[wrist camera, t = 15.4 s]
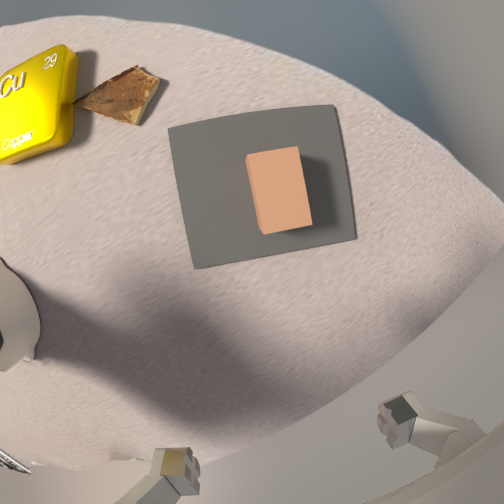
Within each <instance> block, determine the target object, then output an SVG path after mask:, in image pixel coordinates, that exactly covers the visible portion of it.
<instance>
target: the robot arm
mask: <svg viewBox="0 0 504 504" xmlns="http://www.w3.org/2000/svg"><path fill="white" fill-rule="evenodd" d="M39 336H40V319H39V315H38V311H37V308H36V305H35V302H34V300H33V298H32V296H31V294H30V292H29V290H28V289H27V287H26V286H25V284H24V283H23V282H22V280H21V279H20V278H19V277H18V276H17V275H16V274H14V273H13V272H12V271H10V270H9V269H8V268H6V267H5V265H4V264H3V262H2V261H1V259H0V371H2V372H6V371H8V370H9V369H10V368H12V367H13V366H14V365H15V364H17V363H18V362H19V361H20V360H22V359H23V360H26V361H31V360H33V359H34V355H35V350H34V348H35V345H36V343H37V342H38V340H39ZM379 411H380V413H379V415H378V417H377V422H378V427H379V429H380V431H381V433H382V434H385V435H387V439H386V440H387V442H388V444H389V445H390V447H391V448H392V450H393V449H395V448H397V447H400V446H402V445H404V444H406V443H408V442H409V443H410V444H412V445H414V446H416V447H418V448H421V449H423V450H425V451H427V452H430V453H432V454H434V455H436V456H439V458H438V460H437V462H436V464H435V466H434V468H435V470H434V471H432V472H430V473H428V474H427V475H425V476H423V477H421V478H419V479H417V480H416V481H414V482H411V483H410V484H408V485H406V486H403V487H401V488H399V489H398V490H395V491H393V492H391V493H388V494H386V495H384V496H381V497H379V498H376V499H374V500H372V501H369V502H367V503H364V504H504V421H503V422H502V423H501V424H499V425H498V426H497V427H496V428H494V429H493V430H492V431H491V432H489V433H488V434H486V433H485V432H484V431H483V430H482V429H481V428H480V427H479V426H478V425H477V424H476V423H475V422H474V420H472V419H468V418H464V417H460V416H455V415H451V414H447V413H443V412H440V411H436V410H432V409H431V410H428V409H427V408H426V407H425V406H424V405H423V404H422V402H421V401H420V400H419V399H418V398H417V397H416V396H415V395H414V393H412V391H407V392H405V393H403V394H401V395H398V396H396V397H393V398H391V399H389V400H386V401H384V402H382V403H380V404H379ZM192 454H193V452H192V450H191V448H190V447H185V448H156V449H155V450H154V453H153V458H152V462H151V468H150V472H149V476H145V477H144V478H143V479H141V480H140V481H139V482H138V483H137V484H136V485H135V486H134V487H133V488H132V489H130V490H129V491H128V492H127V493H126V494H125V495H124V496H123V497H121V498H120V499H119V500H118V501H117V502H115V503H114V504H176V502H177V501H178V500H179V498H180V496H191V495H199V489H200V483H199V482H198V480H197V479H198V477H199V476H200V466H199V463H198V460H197V458H196V457H194V456H192Z"/></svg>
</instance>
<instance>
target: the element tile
mask: <svg viewBox="0 0 504 504" xmlns="http://www.w3.org/2000/svg"><path fill="white" fill-rule="evenodd" d="M78 64H79V58H78V55H77V54H76V53H74V52H73V51H72V50H71V49H69V48H68V47H67V46H65V45H64V44H63V45H57V46H55V47H52V48H50V49H48V50H46V51H44V52H42V53H40V54H38V55H36V56H34V57H32V58H30V59H28V60H26V61H24V62H23V63H21V64H19V65H17V66H15V67H14V68H12V69H10V70H9V71H7V72H5V73H4V74H3V75H2V76H1V77H0V165H11V164H14V163H16V162H19V161H22V160H24V159H27V158H30V157H33V156H36V155H39V154H41V153H44V152H48V151H51V150H54V149H57V148H60V147H62V146H64V145H66V144H67V143H68V142H69V140H70V139H71V137H72V134H73V128H74V105H73V104H72V103H73V102H75V91H76V81H77V72H78Z"/></svg>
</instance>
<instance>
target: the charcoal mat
mask: <svg viewBox="0 0 504 504" xmlns="http://www.w3.org/2000/svg"><path fill="white" fill-rule="evenodd" d="M168 134H169V140H170V146H171V153H172V159H173V165H174V171H175V176H176V182H177V187H178V193H179V198H180V203H181V209H182V214H183V219H184V224H185V228H186V233H187V238H188V243H189V247H190V252H191V256H192V261H193V265H194V269H199V268H204V267H210V266H215V265H220V264H226V263H231V262H237V261H242V260H247V259H253V258H258V257H263V256H269V255H274V254H279V253H285V252H290V251H295V250H301V249H306V248H311V247H316V246H322V245H327V244H332V243H337V242H343V241H348V240H353V239H355V231H354V222H353V214H352V206H351V198H350V191H349V184H348V178H347V171H346V165H345V159H344V154H343V148H342V143H341V138H340V133H339V128H338V123H337V119H336V114H335V110H334V105H315V106H301V107H290V108H280V109H271V110H263V111H255V112H248V113H242V114H236V115H230V116H224V117H218V118H213V119H208V120H203V121H198V122H193V123H189V124H184V125H180V126H176V127H172V128H168ZM295 146H298V151H299V156H300V160H301V165H302V170H303V175H304V181H305V186H306V191H307V196H308V202H309V208H310V213H311V219H312V225H308V226H304V227H299V228H294V229H289V230H284V231H279V232H274V233H270V234H265V235H264V234H263V233H262V231H261V230H260V229H259V225H258V220H257V215H256V210H255V205H254V200H253V195H252V190H251V185H250V180H249V176H248V171H247V166H246V161H245V160H246V157H247V155H248V154H253V153H258V152H264V151H270V150H276V149H282V148H288V147H295Z"/></svg>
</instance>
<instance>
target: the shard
mask: <svg viewBox="0 0 504 504" xmlns="http://www.w3.org/2000/svg"><path fill="white" fill-rule="evenodd" d="M159 83H160V79H159V78H158V77H155V76H152V75H149V74H147V73H145V72H143V71H142V70H140V69H139V67H138V65H137V66H134V67H132V68H130V69H128V70H126V71H124V72H122V73H121V74H119V75H116V76H114V77H113V78H111V79H109V80H107V81H105V82H103V83H102V84H100V85H99V86H97V87H95V88H94V89H93V90H91V91H90V92H88V93H87V94H86V95H84V96H83V97H81V98H79V99H77V100H76V101H75V102H73V103H72V104H73V105H75V106H79V107H83V108H86V109H90V110H92V111H94V112H96V113H99V114H102V115H104V116H106V117H109V118H113V119H115V120H118V121H121V122H128V123H130V124H134V125H138V124H139V122H140V120H141V118H142V115H143V113H144V111H145V109H146V107H147V105H148V103H149V101H150V100H151V99H152V97H153V96H154V94H155V92H156V91H157V89H158V88H159Z"/></svg>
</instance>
